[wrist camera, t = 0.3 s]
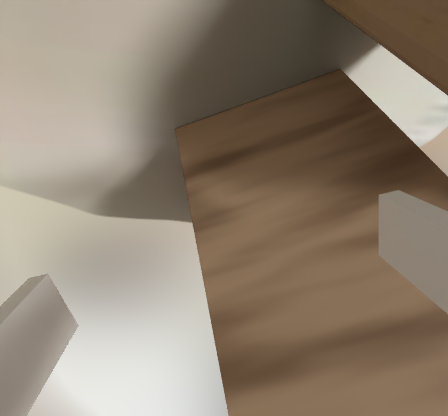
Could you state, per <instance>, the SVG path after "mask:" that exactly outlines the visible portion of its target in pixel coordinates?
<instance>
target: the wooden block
mask: <svg viewBox="0 0 448 416" xmlns="http://www.w3.org/2000/svg"><path fill="white" fill-rule="evenodd" d="M323 1H324V2H325V3H326V4H327V5H329V6H330V7H331V8H333V9H334V10H335V11H337V12H338V13H339V14H341V15H342V16H343V17H344V18H346V19H347V20H348V21H350V22H351V23H352V24H354V25H355V26H356V27H358V28H359V29H360V30H362V31H363V32H364V33H366V34H367V35H368V36H370V37H371V38H372V39H374V40H375V41H376V42H378V43H379V44H380V45H382V46H383V47H384V48H386V49H387V50H388V51H390V52H391V53H392V54H394V55H395V56H396V57H398V58H399V59H400V60H402V61H403V62H404V63H405V64H407V65H408V66H409V67H411V68H412V69H413V70H415V71H416V72H417V73H419V74H420V75H421V76H423V77H424V78H425V79H427V80H428V81H429V82H431V83H432V84H433V85H435V86H436V87H437V88H439V89H440V90H441V91H443V92H444V93H445V94H447V95H448V0H323Z"/></svg>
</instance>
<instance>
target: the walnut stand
mask: <svg viewBox="0 0 448 416" xmlns="http://www.w3.org/2000/svg"><path fill="white" fill-rule="evenodd" d="M175 131H176V137H177V142H178V147H179V153H180V158H181V163H182V169H183V174H184V179H185V185H186V190H187V195H188V201H189V206H190V211H191V217H192V222H193V227H194V232H195V238H196V243H197V249H198V254H199V260H200V265H201V270H202V275H203V281H204V286H205V292H206V297H207V302H208V308H209V313H210V318H211V324H212V329H213V334H214V340H215V345H216V350H217V356H218V361H219V366H220V372H221V377H222V382H223V387H224V393H225V398H226V404H227V409H228V414H229V416H448V314H447V313H446V312H445V311H443V310H442V309H441V308H440V307H439V306H438V305H436V304H435V303H434V302H433V301H432V300H431V299H429V298H428V297H427V296H426V295H425V294H424V293H422V292H421V291H420V290H419V289H418V288H417V287H415V286H414V285H413V284H412V283H411V282H410V281H408V280H407V279H406V278H405V277H404V276H403V275H401V274H400V273H399V272H398V271H397V270H395V269H394V268H393V267H392V266H391V265H390V264H388V263H387V262H386V261H385V260H384V259H383V258H381V257H380V256H379V195H380V194H384V193H388V192H392V191H397V190H400V191H402V192H404V193H406V194H409V195H411V196H413V197H416V198H418V199H420V200H423V201H425V202H427V203H430V204H432V205H434V206H437V207H439V208H441V209H444V210H446V211H448V177H447V176H446V175H445V173H444V172H442V171H441V170H440V168H438V166H437V165H436V164H435V163H433V161H431V160H430V158H429V157H427V156H426V154H425V153H424V152H423V151H422V150H421V149H420V148H419V147H418V146H417V145H416V144H415V143H414V142H413V141H412V140H411V139H410V138H409V137H408V136H407V135H406V134H405V133H404V132H403V131H402V130H401V129H400V128H399V127H398V126H397V125H396V124H395V123H394V122H393V121H392V120H391V119H390V118H389V117H388V116H387V115H386V114H385V113H384V112H383V111H382V110H381V109H380V108H379V107H378V106H377V105H376V104H375V103H374V102H373V101H372V100H371V99H370V98H369V97H368V96H367V95H366V94H365V93H364V92H363V91H362V90H361V89H360V88H359V87H358V86H357V85H356V84H355V83H354V82H353V81H352V80H351V79H350V78H349V77H348V76H347V75H346V74H345V73H344V72H343V71H342V70H341V69H340V70H337V71H334V72H332V73H329V74H326V75H323V76H321V77H318V78H315V79H312V80H310V81H307V82H304V83H301V84H299V85H296V86H293V87H290V88H287V89H285V90H282V91H279V92H276V93H274V94H271V95H268V96H265V97H263V98H260V99H257V100H254V101H252V102H249V103H246V104H243V105H240V106H238V107H235V108H232V109H229V110H227V111H224V112H221V113H218V114H216V115H213V116H210V117H207V118H205V119H202V120H199V121H196V122H193V123H191V124H188V125H185V126H182V127H180V128H177V129H175Z"/></svg>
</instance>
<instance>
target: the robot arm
mask: <svg viewBox="0 0 448 416" xmlns="http://www.w3.org/2000/svg"><path fill="white" fill-rule="evenodd" d="M379 256H380V257H381V258H383V259H384V260H385V261H386V262H387V263H388V264H390V265H391V266H392V267H393V268H394V269H395V270H397V271H398V272H399V273H400V274H401V275H403V276H404V277H405V278H406V279H407V280H408V281H410V282H411V283H412V284H413V285H414V286H415V287H417V288H418V289H419V290H420V291H421V292H422V293H424V294H425V295H426V296H427V297H428V298H429V299H431V300H432V301H433V302H434V303H435V304H436V305H438V306H439V307H440V308H441V309H442V310H443V311H445V312H446V313H447V314H448V211H446V210H444V209H441V208H439V207H437V206H434V205H432V204H430V203H427V202H425V201H423V200H420V199H418V198H416V197H413V196H411V195H409V194H406V193H404V192H402V191H400V190H397V191H392V192H388V193H384V194H380V195H379ZM77 327H78V324H77V322H76V320H75V319H74V317H73V315H72V314H71V312H70V310H69V309H68V307H67V305H66V304H65V302H64V300H63V299H62V297H61V295H60V294H59V292H58V290H57V289H56V287H55V285H54V284H53V282H52V280H51V279H50V277H49V275H48V274H45V275H41V276H37V277H33V278H29V279H28V280H27V281H26V282H25V283H24V284H23V285H22V286H21V287H20V288H19V289H18V290H17V291H16V292H15V293H14V294H12V295H11V297H10V298H8V299H7V301H5V302H4V303H3V304H2V305H1V306H0V416H27V414H28V412H29V411H30V409H31V407H32V405H33V404H34V402H35V400H36V399H37V397H38V395H39V393H40V392H41V390H42V388H43V386H44V385H45V383H46V381H47V379H48V378H49V376H50V374H51V372H52V371H53V369H54V367H55V365H56V364H57V362H58V360H59V358H60V357H61V355H62V353H63V352H64V350H65V348H66V346H67V345H68V343H69V341H70V339H71V338H72V336H73V334H74V332H75V331H76V329H77Z"/></svg>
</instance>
